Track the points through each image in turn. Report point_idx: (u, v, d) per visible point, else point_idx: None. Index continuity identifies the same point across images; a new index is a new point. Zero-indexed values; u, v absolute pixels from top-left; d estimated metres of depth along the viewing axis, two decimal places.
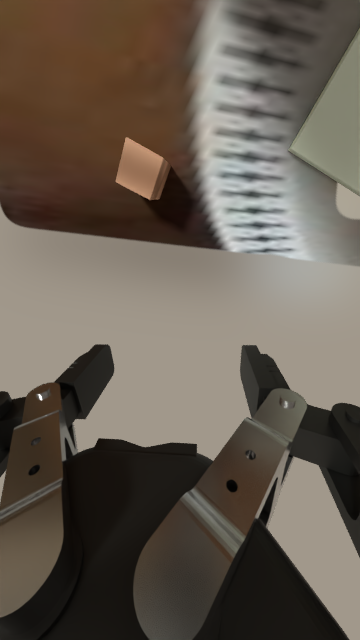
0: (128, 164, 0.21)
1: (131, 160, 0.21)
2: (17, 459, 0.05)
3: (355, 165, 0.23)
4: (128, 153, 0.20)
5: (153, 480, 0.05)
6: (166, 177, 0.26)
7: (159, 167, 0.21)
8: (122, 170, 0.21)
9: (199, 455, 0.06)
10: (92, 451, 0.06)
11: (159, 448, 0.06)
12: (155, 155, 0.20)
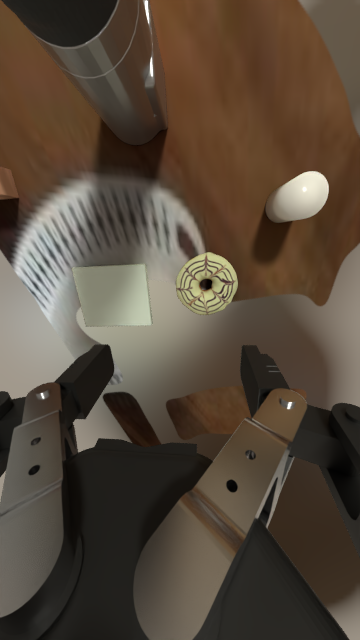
0: None
1: None
2: (17, 459, 0.05)
3: (88, 305, 0.41)
4: None
5: (153, 480, 0.05)
6: (9, 198, 0.35)
7: None
8: None
9: (199, 455, 0.06)
10: (92, 451, 0.06)
11: (159, 449, 0.06)
12: None
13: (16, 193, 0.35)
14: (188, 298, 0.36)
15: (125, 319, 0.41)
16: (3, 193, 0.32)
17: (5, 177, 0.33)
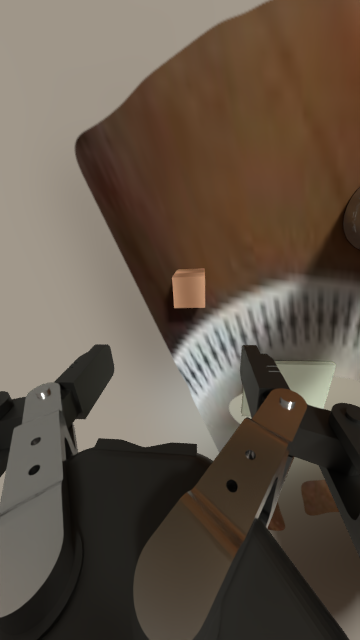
0: (188, 283, 0.25)
1: (192, 285, 0.25)
2: (17, 459, 0.05)
3: None
4: (195, 281, 0.25)
5: (153, 480, 0.05)
6: None
7: (198, 306, 0.26)
8: (182, 280, 0.25)
9: (199, 455, 0.06)
10: (92, 451, 0.06)
11: (159, 449, 0.06)
12: (203, 301, 0.26)
13: None
14: None
15: None
16: None
17: None
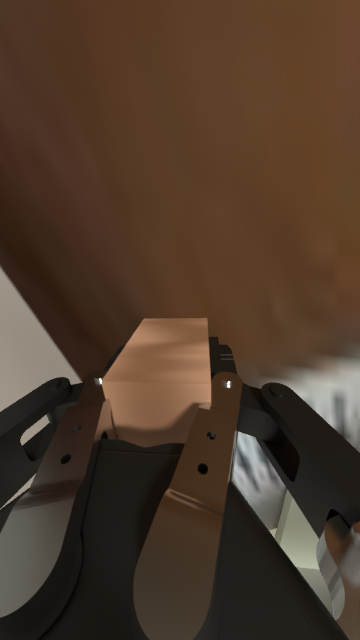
0: (156, 400, 0.08)
1: (169, 406, 0.08)
2: (58, 441, 0.06)
3: (299, 545, 0.20)
4: (179, 396, 0.07)
5: (153, 480, 0.05)
6: None
7: None
8: (136, 390, 0.07)
9: None
10: None
11: (159, 448, 0.06)
12: None
13: None
14: None
15: None
16: None
17: None
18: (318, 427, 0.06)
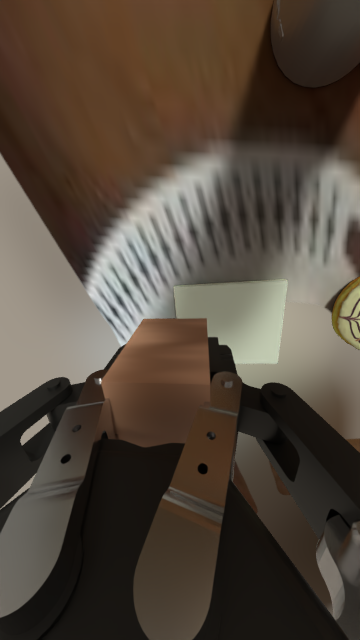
0: (156, 401, 0.08)
1: (169, 406, 0.08)
2: (58, 441, 0.06)
3: None
4: (178, 396, 0.07)
5: (153, 480, 0.05)
6: None
7: None
8: (135, 391, 0.08)
9: None
10: None
11: (159, 449, 0.06)
12: None
13: None
14: None
15: (240, 356, 0.29)
16: None
17: None
18: (318, 427, 0.06)
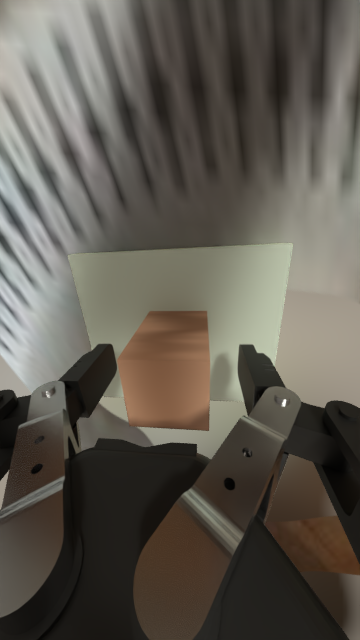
0: (163, 376, 0.09)
1: (174, 381, 0.09)
2: (21, 457, 0.05)
3: None
4: (183, 372, 0.09)
5: (153, 480, 0.05)
6: None
7: (191, 427, 0.10)
8: (146, 368, 0.09)
9: (199, 455, 0.06)
10: (92, 451, 0.06)
11: (159, 449, 0.06)
12: (206, 418, 0.10)
13: None
14: None
15: None
16: None
17: None
18: None
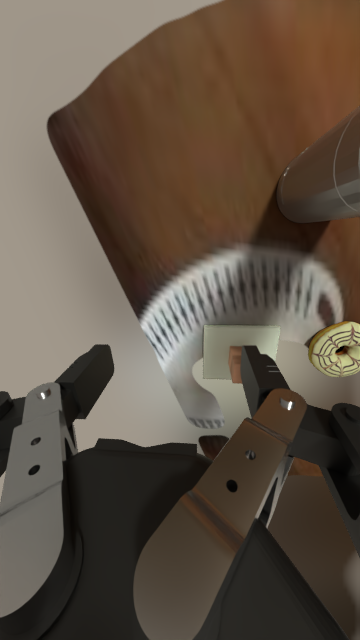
0: None
1: None
2: (17, 459, 0.05)
3: (211, 360, 0.41)
4: None
5: (153, 480, 0.05)
6: None
7: None
8: None
9: (199, 455, 0.06)
10: (92, 451, 0.06)
11: (159, 449, 0.06)
12: None
13: None
14: (326, 364, 0.36)
15: None
16: None
17: None
18: None
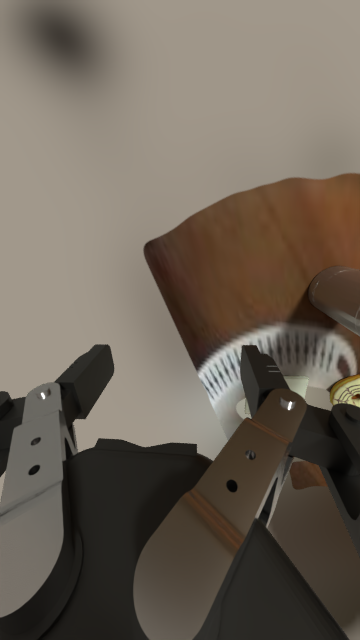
0: None
1: None
2: (17, 459, 0.05)
3: None
4: None
5: (153, 480, 0.05)
6: None
7: None
8: None
9: (199, 455, 0.06)
10: (92, 451, 0.06)
11: (159, 448, 0.06)
12: None
13: None
14: None
15: None
16: None
17: None
18: None
